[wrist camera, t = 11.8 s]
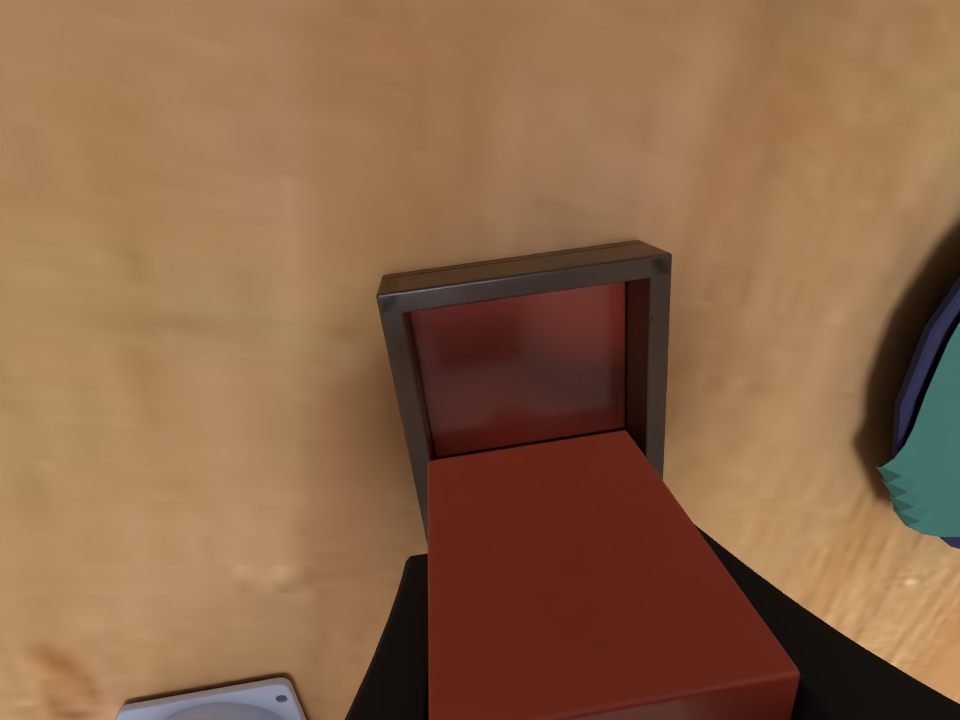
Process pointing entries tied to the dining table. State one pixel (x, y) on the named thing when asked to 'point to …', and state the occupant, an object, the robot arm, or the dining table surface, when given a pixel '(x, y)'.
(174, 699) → the robot arm
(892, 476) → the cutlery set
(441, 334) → the tray
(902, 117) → the dining table surface
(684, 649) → the brick-red block
